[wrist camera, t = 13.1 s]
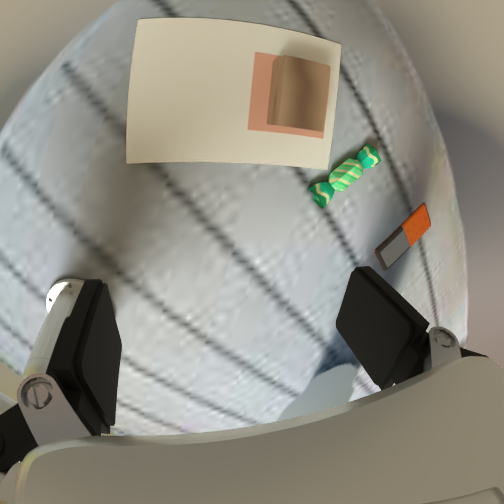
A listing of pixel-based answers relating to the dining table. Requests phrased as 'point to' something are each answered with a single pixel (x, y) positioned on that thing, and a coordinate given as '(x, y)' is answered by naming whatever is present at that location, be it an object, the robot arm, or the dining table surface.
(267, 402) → the dining table surface
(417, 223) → the orange grey slab
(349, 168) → the candy
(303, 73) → the walnut card box
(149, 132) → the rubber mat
